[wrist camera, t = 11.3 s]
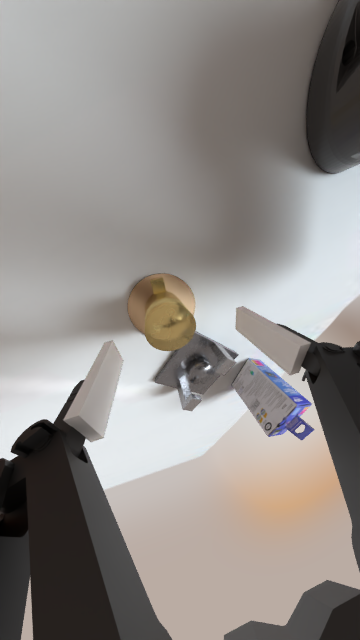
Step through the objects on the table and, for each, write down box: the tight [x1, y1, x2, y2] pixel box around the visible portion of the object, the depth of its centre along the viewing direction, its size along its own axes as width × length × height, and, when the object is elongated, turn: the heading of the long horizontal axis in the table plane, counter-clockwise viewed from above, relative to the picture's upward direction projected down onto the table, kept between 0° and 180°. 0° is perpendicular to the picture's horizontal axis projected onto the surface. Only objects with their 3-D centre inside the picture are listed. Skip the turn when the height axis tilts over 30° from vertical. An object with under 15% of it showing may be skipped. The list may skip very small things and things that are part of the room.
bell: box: [145, 277, 196, 351], centre depth 18 cm, size 10×6×7 cm, turn 11°
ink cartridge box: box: [232, 359, 314, 440], centre depth 29 cm, size 10×6×14 cm, turn 162°
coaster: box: [128, 274, 195, 334], centre depth 21 cm, size 11×11×1 cm
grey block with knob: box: [155, 331, 238, 411], centre depth 27 cm, size 14×14×6 cm
